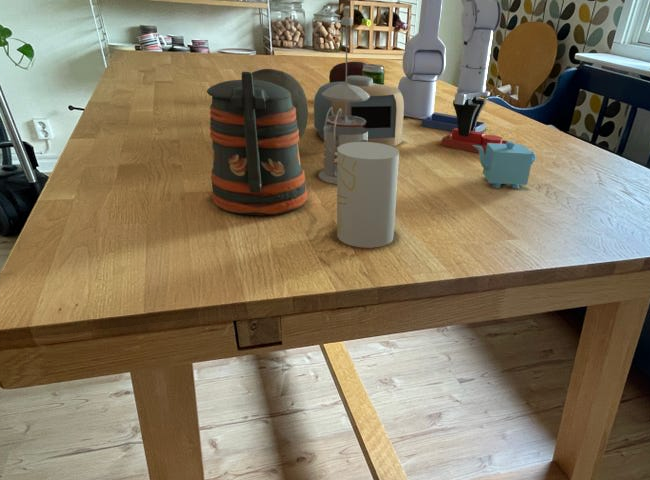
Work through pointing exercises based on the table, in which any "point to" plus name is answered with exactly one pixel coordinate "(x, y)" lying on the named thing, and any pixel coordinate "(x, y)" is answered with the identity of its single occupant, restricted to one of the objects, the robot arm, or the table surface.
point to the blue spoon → (445, 118)
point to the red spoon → (476, 137)
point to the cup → (366, 193)
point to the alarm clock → (366, 110)
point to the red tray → (462, 144)
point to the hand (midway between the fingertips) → (465, 134)
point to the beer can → (374, 73)
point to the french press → (341, 121)
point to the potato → (340, 71)
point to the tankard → (255, 148)
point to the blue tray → (448, 125)
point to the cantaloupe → (293, 87)
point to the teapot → (506, 163)
